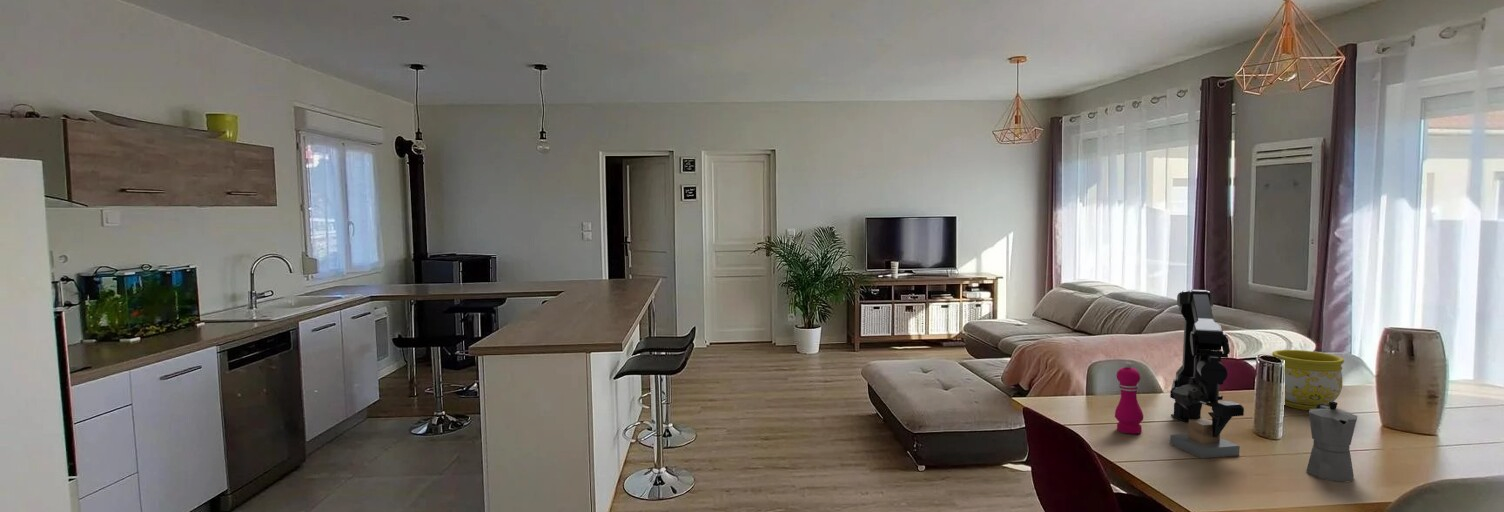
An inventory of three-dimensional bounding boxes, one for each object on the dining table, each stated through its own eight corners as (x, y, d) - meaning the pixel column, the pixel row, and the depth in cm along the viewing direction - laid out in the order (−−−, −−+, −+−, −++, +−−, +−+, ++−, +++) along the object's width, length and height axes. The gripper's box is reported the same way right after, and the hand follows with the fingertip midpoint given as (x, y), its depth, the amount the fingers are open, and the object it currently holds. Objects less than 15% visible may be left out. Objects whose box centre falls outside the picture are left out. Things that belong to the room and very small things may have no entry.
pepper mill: (1140, 427, 204) (1139, 359, 203) (1146, 435, 197) (1145, 365, 196) (1113, 426, 206) (1111, 359, 205) (1117, 433, 199) (1116, 364, 198)
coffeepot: (1366, 488, 160) (1370, 411, 159) (1316, 482, 164) (1320, 407, 162) (1338, 464, 174) (1342, 394, 173) (1292, 460, 178) (1296, 390, 177)
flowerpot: (1357, 413, 216) (1359, 361, 214) (1298, 414, 216) (1300, 361, 215) (1311, 397, 234) (1313, 349, 232) (1256, 398, 234) (1259, 349, 233)
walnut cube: (1204, 436, 189) (1205, 418, 189) (1219, 442, 184) (1220, 424, 184) (1188, 437, 188) (1188, 419, 188) (1202, 443, 183) (1203, 425, 183)
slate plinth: (1205, 441, 192) (1205, 432, 192) (1239, 455, 182) (1239, 445, 181) (1169, 443, 191) (1170, 434, 191) (1201, 458, 180) (1202, 448, 180)
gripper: (1153, 368, 193) (1151, 423, 194) (1207, 385, 174) (1205, 446, 175) (1189, 366, 194) (1187, 421, 196) (1246, 383, 176) (1244, 443, 177)
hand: (1204, 432), depth 186 cm, fingers open, 7 cm apart
